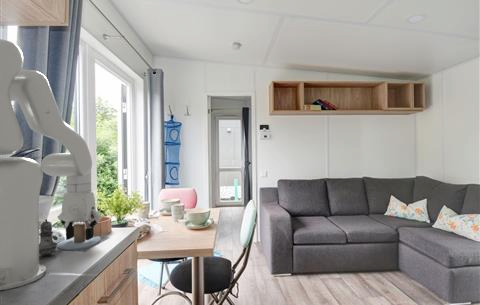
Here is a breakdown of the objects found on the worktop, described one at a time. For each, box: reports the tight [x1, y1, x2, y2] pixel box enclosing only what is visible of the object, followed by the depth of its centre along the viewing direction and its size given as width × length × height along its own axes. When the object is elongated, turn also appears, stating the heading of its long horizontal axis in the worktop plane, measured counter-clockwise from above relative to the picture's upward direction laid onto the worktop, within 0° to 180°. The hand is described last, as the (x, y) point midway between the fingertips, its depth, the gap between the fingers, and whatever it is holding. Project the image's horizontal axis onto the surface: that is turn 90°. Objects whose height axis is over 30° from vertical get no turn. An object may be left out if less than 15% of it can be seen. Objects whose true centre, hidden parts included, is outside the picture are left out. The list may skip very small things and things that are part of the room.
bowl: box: [82, 216, 112, 237], centre depth 107 cm, size 10×10×6 cm
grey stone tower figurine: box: [39, 218, 59, 259], centre depth 83 cm, size 6×6×12 cm
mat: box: [54, 236, 111, 253], centre depth 94 cm, size 14×14×1 cm
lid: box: [57, 222, 101, 250], centre depth 94 cm, size 13×13×7 cm
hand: (79, 238), depth 94 cm, fingers open, 6 cm apart
